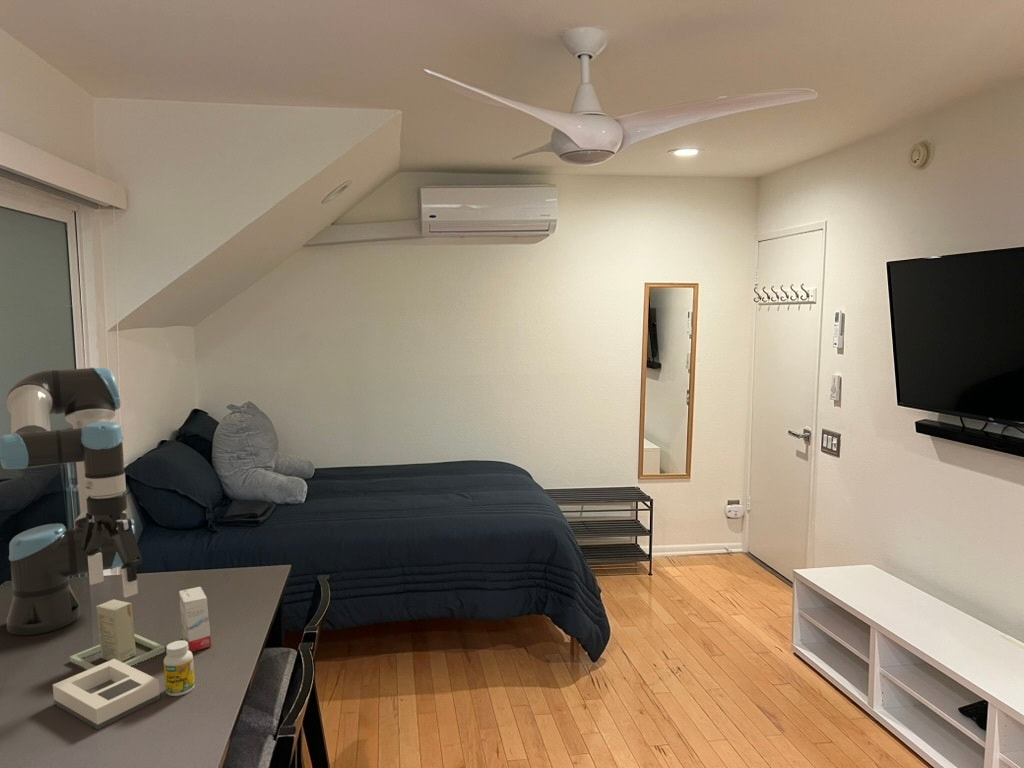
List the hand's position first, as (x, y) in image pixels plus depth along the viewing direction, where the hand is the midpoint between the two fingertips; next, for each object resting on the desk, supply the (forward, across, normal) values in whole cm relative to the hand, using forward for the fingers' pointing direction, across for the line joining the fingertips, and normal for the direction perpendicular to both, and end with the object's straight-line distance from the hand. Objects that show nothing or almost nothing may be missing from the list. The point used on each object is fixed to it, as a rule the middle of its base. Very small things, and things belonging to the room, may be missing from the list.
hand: (113, 588), depth 156 cm
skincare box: (+16, 0, 0) cm, 16 cm away
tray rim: (+16, 0, 0) cm, 16 cm away
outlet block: (+16, +16, -11) cm, 25 cm away
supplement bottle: (+16, +24, -1) cm, 29 cm away
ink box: (+16, +9, +13) cm, 23 cm away
